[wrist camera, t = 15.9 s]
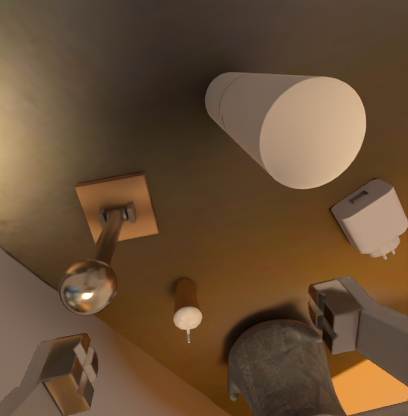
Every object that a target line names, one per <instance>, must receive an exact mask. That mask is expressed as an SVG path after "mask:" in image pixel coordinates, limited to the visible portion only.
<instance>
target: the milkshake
mask: <svg viewBox="0 0 408 416" xmlns="http://www.w3.org/2000/svg"><path fill="white" fill-rule="evenodd" d="M201 320H202V314H201V310H200V307H199V304H198V300H197V297H196V293H195V289H194V285H193V282H192V281H191V280H190V279H186V278H183V279H180V280H178V282H177V283H176V287H175V307H174V324H175V325H176V326H177V327H178V328H180V329H184V330H187V341H188V342H191V341H190V329H193V328H196V327H197V326H198V325H199V324H200V322H201Z"/></svg>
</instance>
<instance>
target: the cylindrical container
mask: <svg viewBox="0 0 408 416" xmlns="http://www.w3.org/2000/svg"><path fill="white" fill-rule="evenodd" d="M205 106H206V110H207V112H208V114H209V116H210V117H211V118H212V119H213V120H214V121H215V122H216V123H217V124H218V125H219V126H220V127H221V128H222V129H223V130H224V131H225V132H226V133H227V134H228V135H229V136H230V137H231V138H232V139H233V140H235V141H236V142H237V143H238V144H239V145H240V146H241V147H242V148H243V149H244V150H245V151H246V152H247V153H248V154H249V155H250V156H251V157H252V158H253V159H254V160H255V161H256V162H257V163H258V164H259V165H260V166H261V167H263V168H264V169H265V170H266V171H267V172H268V173H269V174H270V175H271V176H272V177H273V178H274V179H275V180H276V181H278V182H280V183H281V184H283V185H285V186H288V187H291V188H296V189H309V188H315V187H318V186H321V185H324V184H326V183H328V182H330V181H332V180H333V179H335V178H336V177H338V176H339V175H340V174H341V173H342V172H343V171H344V170H346V169H347V168H348V166H349V165H350V164H351V163H352V161H353V160H354V159H355V157H356V155H357V153H358V152H359V150H360V147H361V145H362V142H363V139H364V135H365V129H366V116H365V110H364V106H363V104H362V101H361V99H360V97H359V96H358V95H357V93H356V92H355V90H354V89H352V88H351V87H350V86H349V85H348V84H346V83H345V82H342V81H340V80H338V79H335V78H329V77H319V76H299V75H279V74H259V73H239V72H227V73H223V74H221V75H219V76H217V77H216V78H215V79H214V80H213V81H212V82H211V83H210V85H209V86H208V88H207V91H206V95H205Z"/></svg>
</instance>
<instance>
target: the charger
mask: <svg viewBox="0 0 408 416" xmlns="http://www.w3.org/2000/svg"><path fill="white" fill-rule="evenodd" d="M331 211H332V213H333V214H334V216H335V218H336V220H337V221H338V223H339V225H340V227H341V228H342V230H343V232H344V233H345V235H346V237H347V239H348V240H349V242H350V244H351V245H352V246H353V247H355V248H356V249H357V250H358V251H359V252H360V253H370V255H371V256H372V257H379V256H383V258H384V259H387V257H386V254H387V253H389V252H390V251H391V252H392V254H395V251H394V249H395V248H396V247H397V246H398V244H399V243H400V239H399V237H398V236H399V235H401V234H402V233H404V232H405V230H406V229H407V227H408V220H407V218H406V216H405V213H404V211H403V209H402V206H401V204H400V202H399V199H398V197H397V195H396V192H395V190H394V188H393V186H392V185H390V184H388V183H386V182H384V181H382V180H380V179H375V180H372V181H370V182H369V183H367V184H365V185H364V186H362V187H361V188H359V189H358V190H356V191H355V192H353V193H352V194H350V195H349V196H347V197H346V198H344V199H343V200H341V201H340V202H338V203H337V204H335V205H334V206H333V207H332V209H331Z"/></svg>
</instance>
